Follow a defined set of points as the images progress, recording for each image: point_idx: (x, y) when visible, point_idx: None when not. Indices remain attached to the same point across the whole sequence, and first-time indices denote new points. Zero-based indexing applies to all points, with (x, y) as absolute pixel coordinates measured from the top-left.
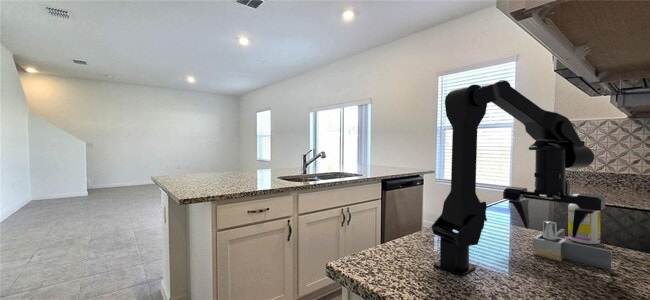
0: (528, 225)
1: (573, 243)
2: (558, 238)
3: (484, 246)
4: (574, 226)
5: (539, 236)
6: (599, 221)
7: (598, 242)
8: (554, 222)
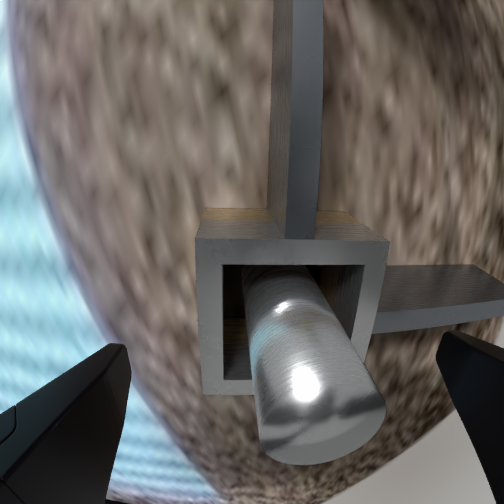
0: (121, 372)
1: (417, 320)
2: (340, 262)
3: (39, 368)
4: (477, 435)
5: (220, 326)
6: None
7: None
8: (369, 398)
